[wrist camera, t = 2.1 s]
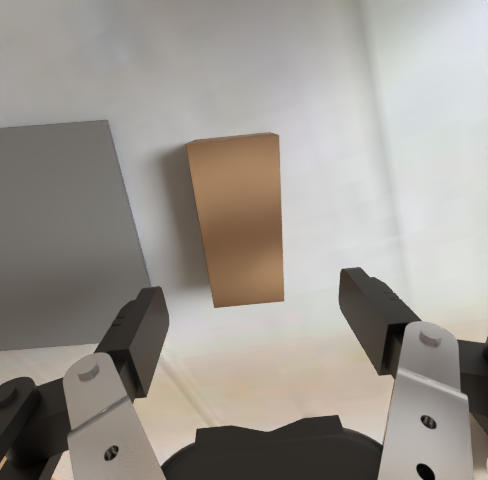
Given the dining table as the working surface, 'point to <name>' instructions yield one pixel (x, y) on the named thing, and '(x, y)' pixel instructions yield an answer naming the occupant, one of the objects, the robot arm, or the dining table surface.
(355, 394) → the dining table surface
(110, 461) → the robot arm
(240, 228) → the walnut block
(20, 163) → the rubber mat
